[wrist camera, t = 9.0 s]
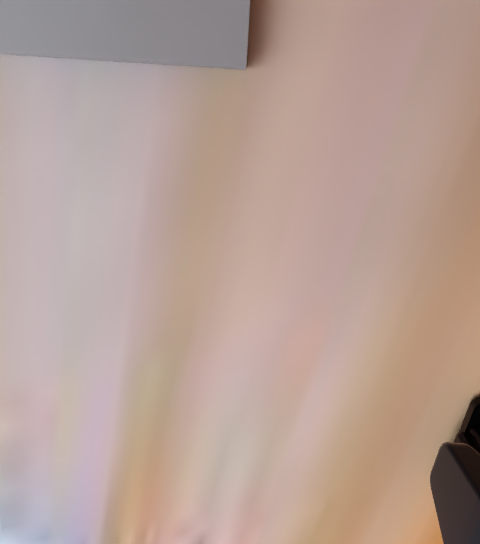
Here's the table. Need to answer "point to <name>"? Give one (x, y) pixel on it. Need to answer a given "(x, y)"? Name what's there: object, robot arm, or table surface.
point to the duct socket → (129, 31)
